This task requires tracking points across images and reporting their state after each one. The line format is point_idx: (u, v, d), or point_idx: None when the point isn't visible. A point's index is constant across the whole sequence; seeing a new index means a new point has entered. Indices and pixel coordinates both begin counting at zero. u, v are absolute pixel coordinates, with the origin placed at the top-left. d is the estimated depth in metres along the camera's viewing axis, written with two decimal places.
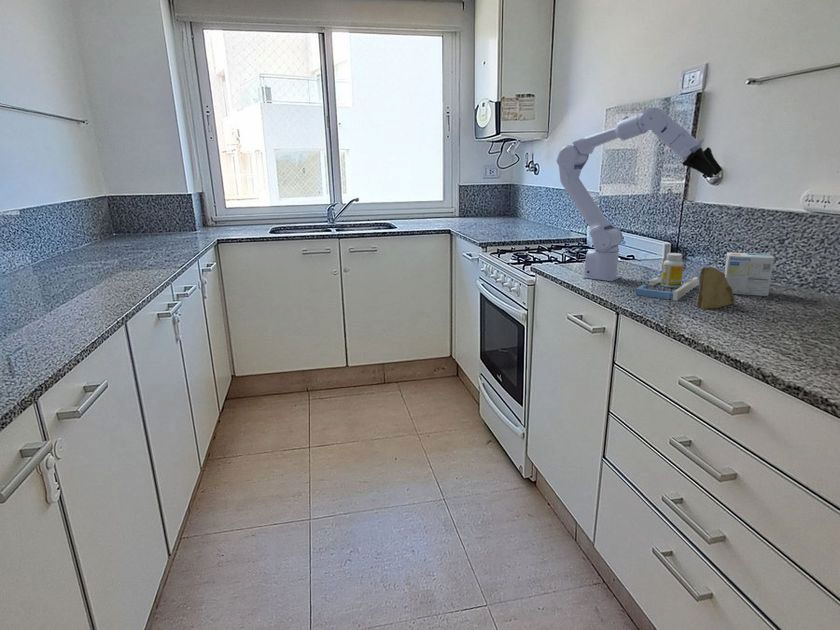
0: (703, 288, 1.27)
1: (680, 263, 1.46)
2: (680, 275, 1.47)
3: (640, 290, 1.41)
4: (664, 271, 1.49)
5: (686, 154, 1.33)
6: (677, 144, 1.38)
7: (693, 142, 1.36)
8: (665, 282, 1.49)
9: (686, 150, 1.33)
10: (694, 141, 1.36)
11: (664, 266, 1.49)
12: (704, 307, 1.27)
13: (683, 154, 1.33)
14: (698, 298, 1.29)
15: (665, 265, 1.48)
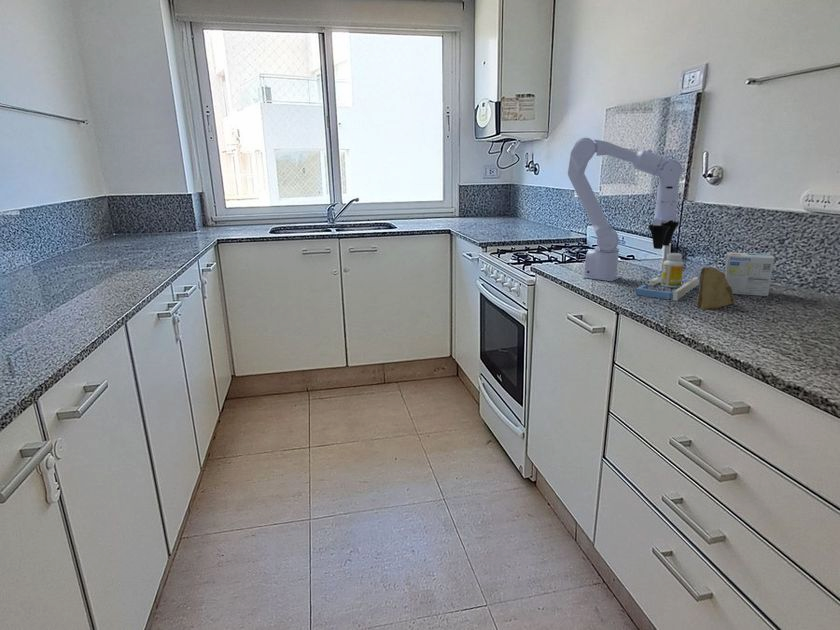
0: (703, 288, 1.27)
1: (680, 263, 1.46)
2: (680, 275, 1.47)
3: (640, 290, 1.41)
4: (664, 271, 1.49)
5: (656, 223, 1.47)
6: (661, 206, 1.50)
7: (671, 215, 1.49)
8: (665, 282, 1.49)
9: (659, 221, 1.47)
10: (672, 215, 1.49)
11: (664, 266, 1.49)
12: (704, 307, 1.27)
13: (655, 221, 1.47)
14: (698, 298, 1.29)
15: (665, 265, 1.48)
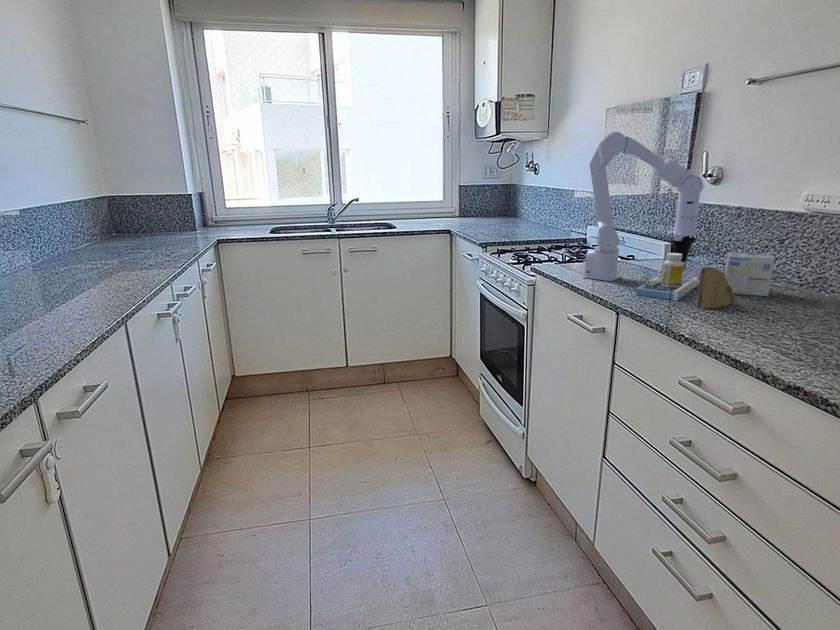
0: (703, 288, 1.27)
1: (680, 263, 1.46)
2: (680, 275, 1.47)
3: (640, 290, 1.41)
4: (664, 271, 1.49)
5: (676, 239, 1.47)
6: (681, 221, 1.49)
7: (691, 230, 1.49)
8: (665, 282, 1.49)
9: (679, 236, 1.46)
10: (692, 230, 1.49)
11: (664, 266, 1.49)
12: (704, 307, 1.27)
13: (675, 237, 1.47)
14: (698, 298, 1.29)
15: (665, 265, 1.48)
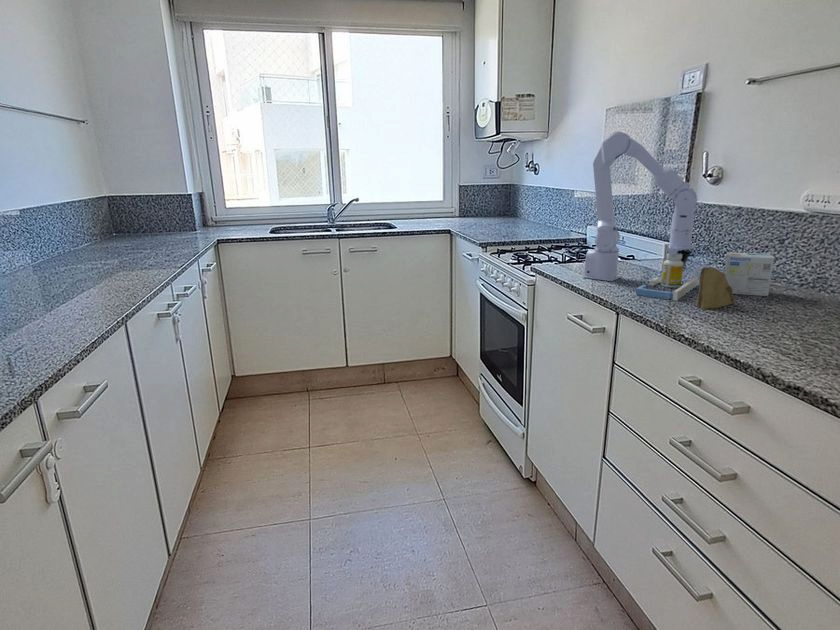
0: (703, 288, 1.27)
1: (680, 263, 1.46)
2: (680, 275, 1.47)
3: (640, 290, 1.41)
4: (664, 271, 1.49)
5: (671, 253, 1.46)
6: (676, 235, 1.48)
7: (686, 244, 1.48)
8: (665, 282, 1.49)
9: (674, 250, 1.45)
10: (687, 244, 1.48)
11: (664, 266, 1.49)
12: (704, 307, 1.27)
13: (670, 251, 1.46)
14: (698, 298, 1.29)
15: (665, 265, 1.48)
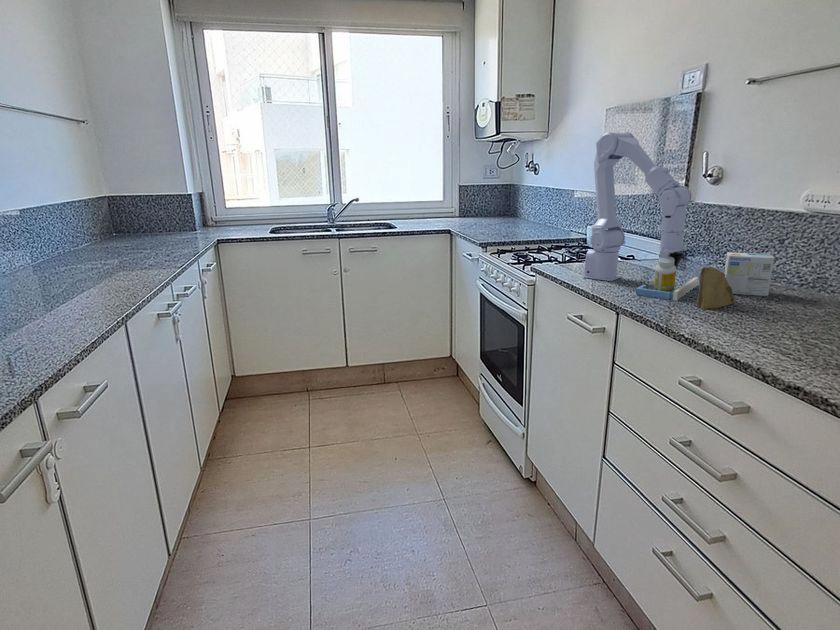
0: (703, 288, 1.27)
1: (672, 270, 1.39)
2: (673, 281, 1.40)
3: (640, 290, 1.41)
4: (656, 277, 1.42)
5: (663, 256, 1.37)
6: (667, 237, 1.39)
7: (678, 246, 1.39)
8: (657, 288, 1.43)
9: (666, 253, 1.37)
10: (679, 245, 1.39)
11: (656, 272, 1.41)
12: (704, 307, 1.27)
13: (661, 253, 1.37)
14: (698, 298, 1.29)
15: (657, 272, 1.41)
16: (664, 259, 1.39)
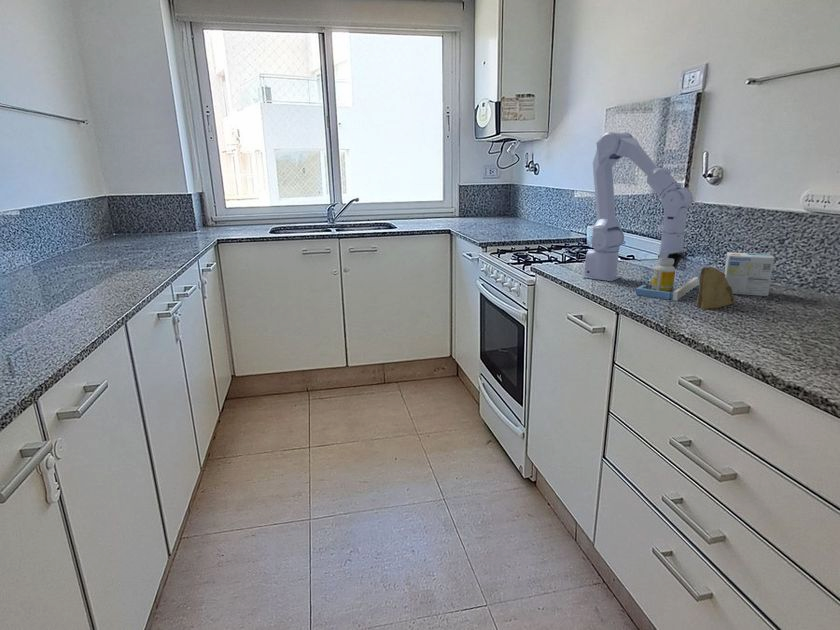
0: (703, 288, 1.27)
1: (672, 268, 1.39)
2: (671, 281, 1.40)
3: (640, 290, 1.41)
4: (655, 276, 1.42)
5: (662, 256, 1.39)
6: (667, 237, 1.42)
7: (678, 247, 1.41)
8: (655, 288, 1.42)
9: (665, 254, 1.39)
10: (679, 246, 1.41)
11: (655, 271, 1.42)
12: (704, 307, 1.27)
13: (661, 254, 1.40)
14: (698, 298, 1.29)
15: (656, 270, 1.41)
16: (664, 258, 1.41)
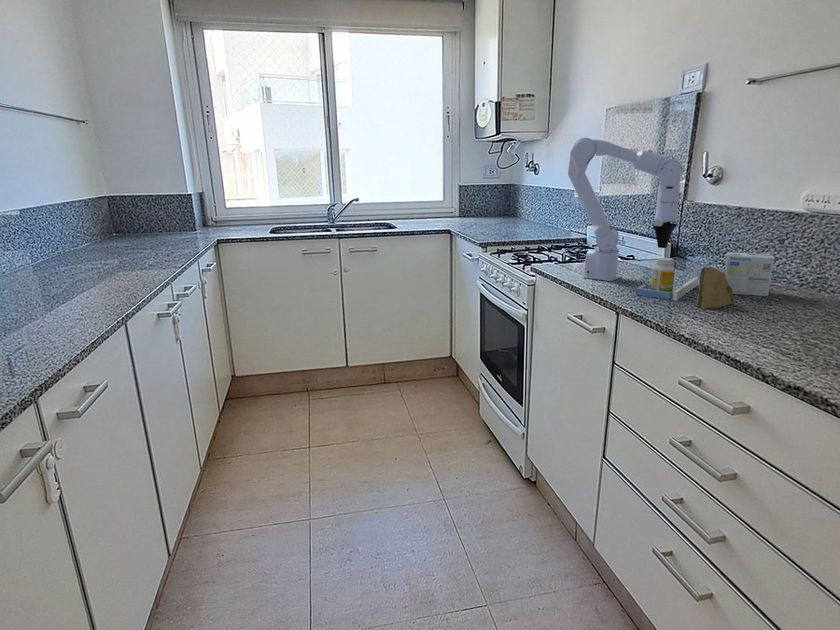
0: (703, 288, 1.27)
1: (671, 268, 1.40)
2: (671, 281, 1.40)
3: (640, 290, 1.41)
4: (654, 277, 1.42)
5: (657, 224, 1.46)
6: (662, 207, 1.48)
7: (672, 215, 1.48)
8: (656, 288, 1.42)
9: (659, 221, 1.46)
10: (673, 215, 1.48)
11: (654, 271, 1.42)
12: (704, 307, 1.27)
13: (655, 222, 1.46)
14: (698, 298, 1.29)
15: (655, 270, 1.41)
16: (663, 258, 1.41)
